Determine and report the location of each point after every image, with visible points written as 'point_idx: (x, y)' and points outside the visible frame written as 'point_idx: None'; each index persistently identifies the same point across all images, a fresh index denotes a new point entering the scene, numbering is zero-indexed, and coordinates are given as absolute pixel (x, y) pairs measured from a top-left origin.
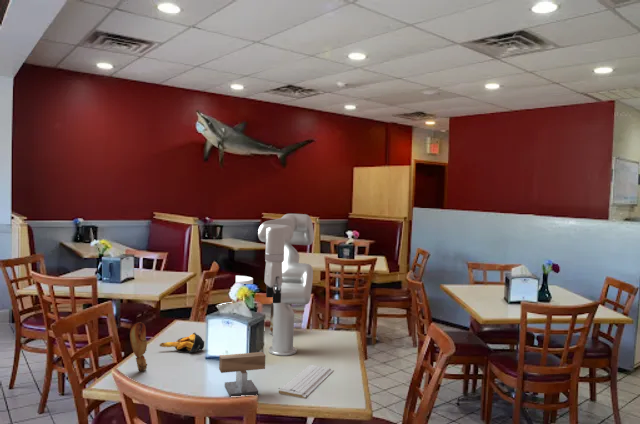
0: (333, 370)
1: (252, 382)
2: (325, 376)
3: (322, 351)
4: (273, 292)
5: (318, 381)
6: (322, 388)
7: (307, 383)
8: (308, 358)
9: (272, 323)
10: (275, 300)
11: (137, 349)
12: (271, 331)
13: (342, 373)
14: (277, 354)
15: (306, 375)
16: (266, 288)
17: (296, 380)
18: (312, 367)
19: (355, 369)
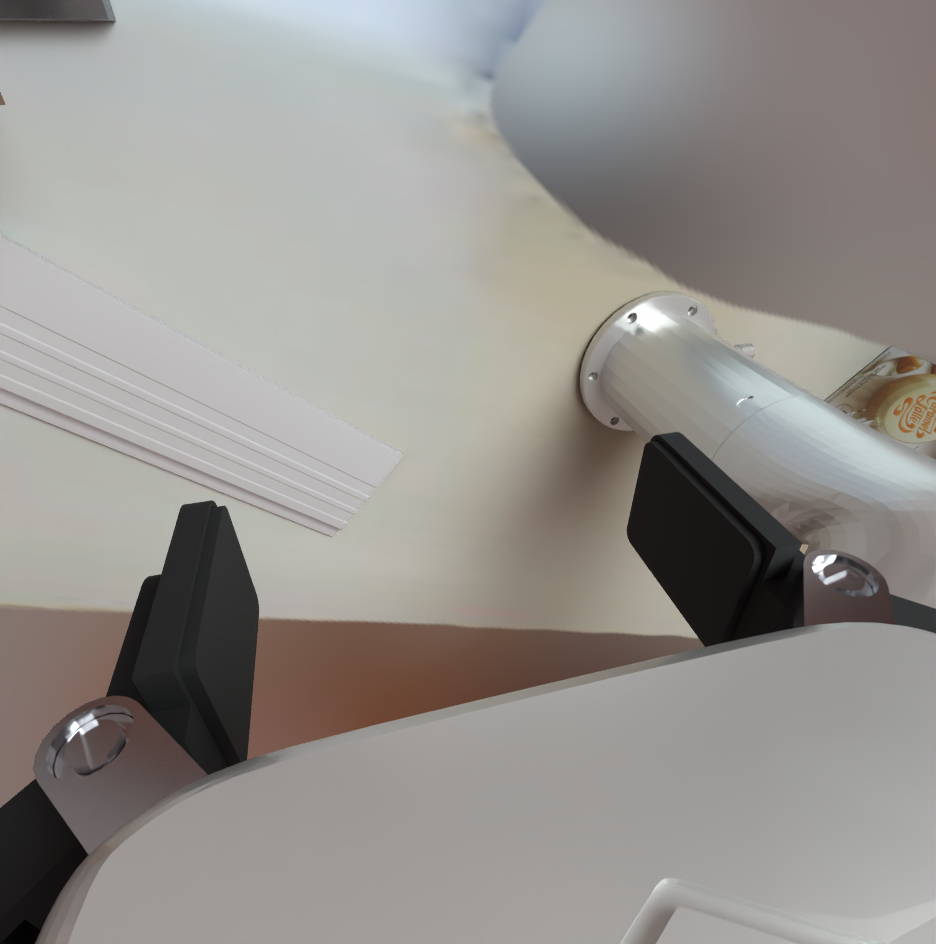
0: (332, 535)
1: (42, 14)
2: (247, 497)
3: (578, 525)
4: (666, 583)
5: (166, 459)
6: (78, 461)
7: (106, 403)
8: (513, 461)
9: (931, 380)
10: (150, 579)
11: None
12: (896, 358)
13: (294, 561)
14: (601, 328)
15: (241, 418)
16: (781, 530)
17: (155, 354)
18: (361, 462)
19: (338, 606)
